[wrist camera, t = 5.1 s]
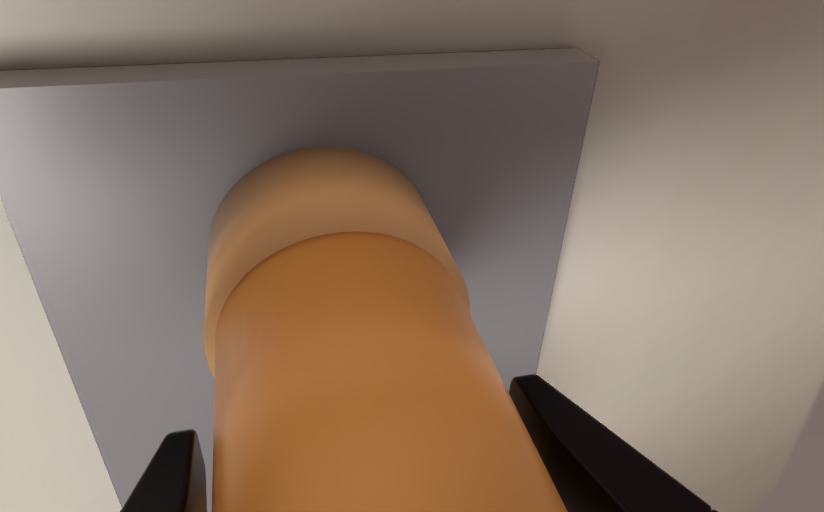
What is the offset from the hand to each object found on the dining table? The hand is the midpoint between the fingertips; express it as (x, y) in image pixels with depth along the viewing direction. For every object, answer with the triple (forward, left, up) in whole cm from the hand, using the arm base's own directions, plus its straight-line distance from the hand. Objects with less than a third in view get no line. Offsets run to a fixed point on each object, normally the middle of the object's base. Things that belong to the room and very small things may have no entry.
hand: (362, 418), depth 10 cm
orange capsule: (0, 0, -2) cm, 2 cm away
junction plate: (-4, 0, -6) cm, 7 cm away
